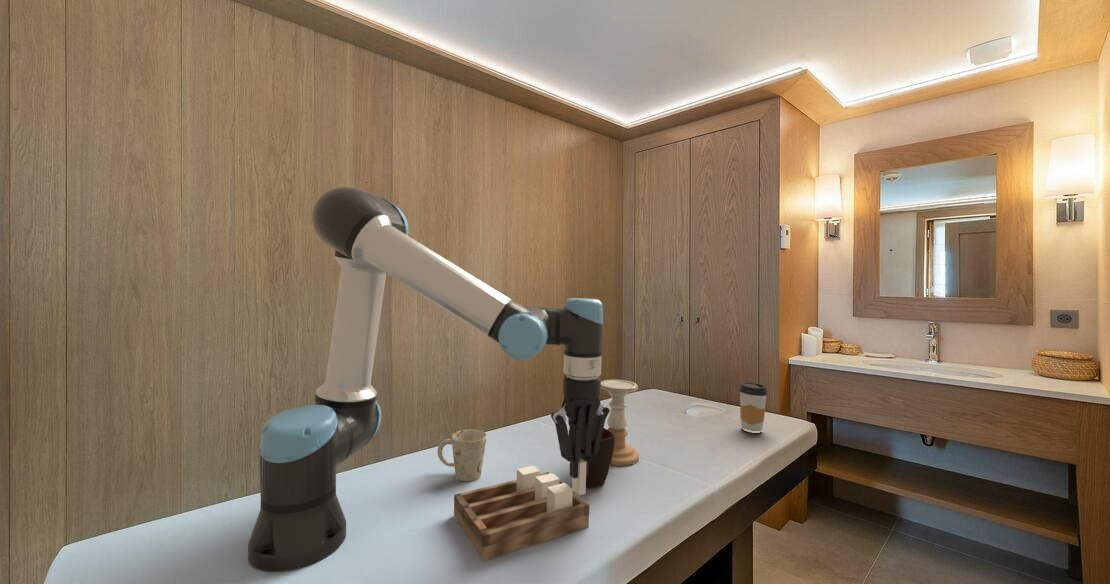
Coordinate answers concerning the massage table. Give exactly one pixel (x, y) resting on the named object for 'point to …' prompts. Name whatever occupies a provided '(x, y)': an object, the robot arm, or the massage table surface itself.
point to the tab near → (559, 497)
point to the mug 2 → (601, 461)
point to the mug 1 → (466, 453)
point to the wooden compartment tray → (513, 518)
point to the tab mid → (544, 485)
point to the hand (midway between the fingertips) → (578, 491)
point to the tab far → (526, 478)
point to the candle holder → (620, 421)
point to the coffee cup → (752, 406)
